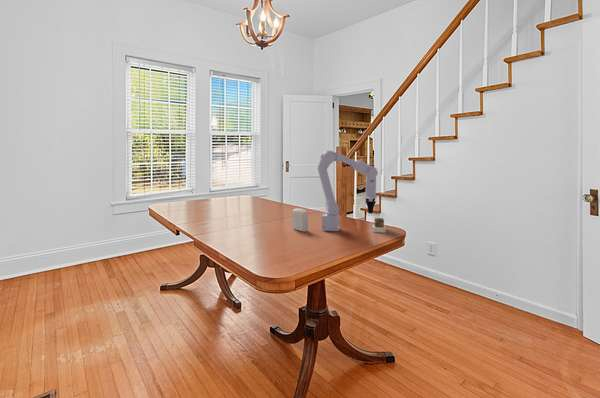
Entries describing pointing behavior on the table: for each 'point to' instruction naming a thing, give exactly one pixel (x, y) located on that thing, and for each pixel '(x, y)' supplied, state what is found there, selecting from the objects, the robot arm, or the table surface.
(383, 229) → the cream block
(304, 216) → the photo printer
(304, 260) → the table surface
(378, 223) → the walnut cube
